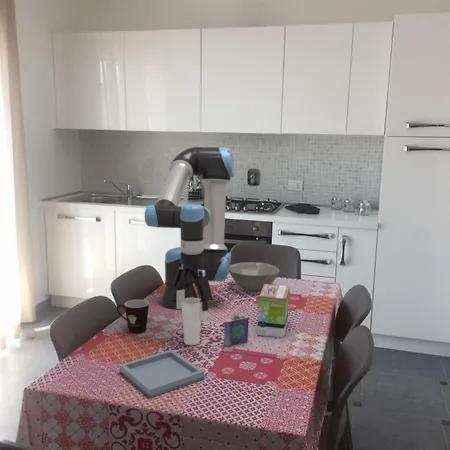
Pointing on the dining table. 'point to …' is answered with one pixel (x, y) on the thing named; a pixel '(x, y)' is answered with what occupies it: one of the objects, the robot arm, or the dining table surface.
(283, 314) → the tea box
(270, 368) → the dining table surface
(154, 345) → the dining table surface
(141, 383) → the tray
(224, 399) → the dining table surface
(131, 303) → the coffee mug
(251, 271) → the ceramic bowl
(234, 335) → the flask
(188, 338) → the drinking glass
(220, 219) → the robot arm
